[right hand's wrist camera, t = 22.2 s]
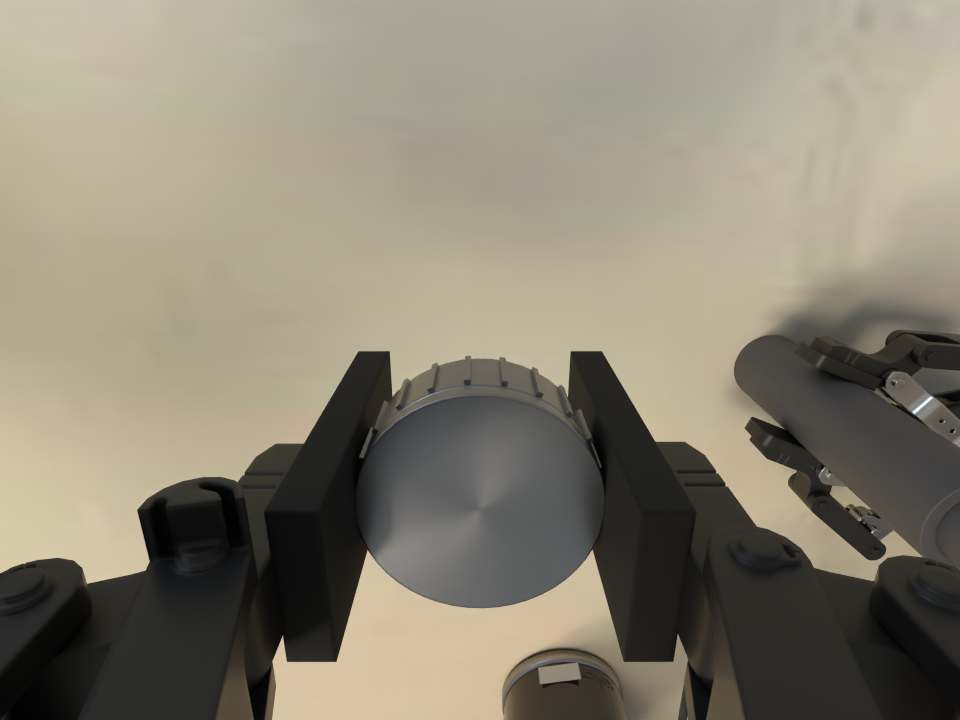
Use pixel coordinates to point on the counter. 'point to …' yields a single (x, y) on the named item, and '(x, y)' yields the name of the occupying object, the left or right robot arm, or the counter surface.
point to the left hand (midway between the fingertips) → (780, 391)
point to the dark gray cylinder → (862, 444)
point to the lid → (479, 485)
